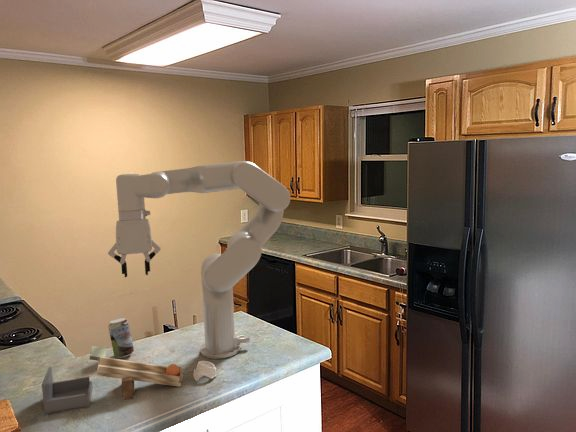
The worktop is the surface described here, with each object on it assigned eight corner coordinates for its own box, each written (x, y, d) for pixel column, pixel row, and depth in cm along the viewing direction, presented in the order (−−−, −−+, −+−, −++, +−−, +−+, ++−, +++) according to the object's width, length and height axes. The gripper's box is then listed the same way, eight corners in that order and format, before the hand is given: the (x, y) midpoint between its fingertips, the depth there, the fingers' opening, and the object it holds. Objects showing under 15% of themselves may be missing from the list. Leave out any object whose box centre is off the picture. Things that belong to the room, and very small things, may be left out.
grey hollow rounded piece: (191, 375, 135) (188, 359, 134) (213, 368, 137) (211, 353, 137) (197, 386, 127) (194, 369, 127) (220, 378, 130) (217, 362, 129)
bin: (92, 388, 127) (90, 360, 126) (89, 407, 117) (86, 377, 116) (51, 395, 124) (48, 366, 122) (44, 415, 114) (41, 384, 113)
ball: (177, 374, 130) (180, 362, 130) (178, 380, 127) (181, 368, 127) (164, 373, 129) (167, 361, 129) (165, 379, 126) (168, 366, 126)
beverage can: (127, 360, 143) (124, 323, 141) (106, 359, 145) (103, 322, 143) (138, 352, 149) (135, 316, 147) (117, 350, 151) (114, 315, 149)
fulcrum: (134, 381, 130) (132, 363, 129) (134, 398, 121) (133, 379, 120) (123, 383, 129) (121, 364, 128) (122, 400, 120) (120, 381, 119)
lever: (174, 365, 141) (177, 352, 141) (179, 391, 126) (183, 377, 126) (90, 353, 133) (94, 339, 133) (84, 379, 117) (89, 363, 117)
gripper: (161, 212, 143) (164, 269, 145) (102, 216, 138) (106, 275, 140) (162, 215, 136) (166, 275, 138) (100, 219, 131) (105, 281, 133)
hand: (136, 274), depth 139 cm, fingers open, 5 cm apart
